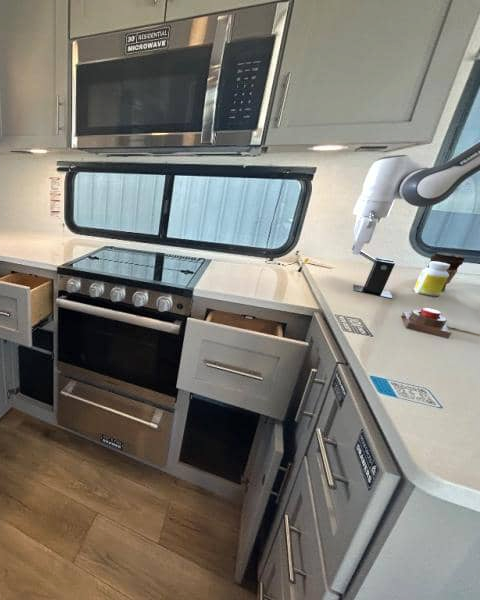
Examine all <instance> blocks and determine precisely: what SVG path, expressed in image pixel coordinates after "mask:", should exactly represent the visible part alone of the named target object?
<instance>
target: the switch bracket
mask: <svg viewBox="0 0 480 600" xmlns="http://www.w3.org/2000/svg"><path fill="white" fill-rule="evenodd" d="M375 259H376V260H377V261H376V264H375V263H374V262H373V264H372V266H371V269H370V272H369V273H368V275H367V278H366V281H365V283H364V285H359V284H355V283H353V284H352V287H353V292H355V293H356V292H357V293H361V294H367V295H370V296H371V295H372V296H376V297H381V298H386V299H390V300H393V296H392V293H391V291H389V290H384V289H385V287H386V285H387V282H388V280H389V278H390V276H391V274H392V272H393V269H394V267H395V265H396V263H395V262H394V260H393V259H387V258H380V257H375ZM381 260H383V261H381Z"/></svg>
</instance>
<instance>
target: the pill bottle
mask: <svg viewBox="0 0 480 600" xmlns="http://www.w3.org/2000/svg"><path fill="white" fill-rule="evenodd" d="M429 262H430V261H429ZM428 265H429V268H428V267H426V268H423V269H422V270H421V272H420V274H419V276H418V278H417V280H416V283H415V285H414V286H413V288H412V292H413V293H415V294H418V295H421V296H426V297H432V298H438V297H439V296H440V294H441V293H442V291H441V290H442V289H443V287H444V285H445V283H446V281H447V279H448V277H449V273H448V272H446V270H447V269H448V268H449V266H450V264H447V263H442V262H436V261H431V262H430V263H428Z"/></svg>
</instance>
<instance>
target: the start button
mask: <svg viewBox="0 0 480 600" xmlns="http://www.w3.org/2000/svg"><path fill="white" fill-rule="evenodd" d="M420 314H421V315H423V316H426V317H429V318H434V319H438V318H439V316H441V314H442V312H441V311H439V310H437V309H434V308H430V307H429V308H428V307H422V308H421V312H420Z"/></svg>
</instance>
